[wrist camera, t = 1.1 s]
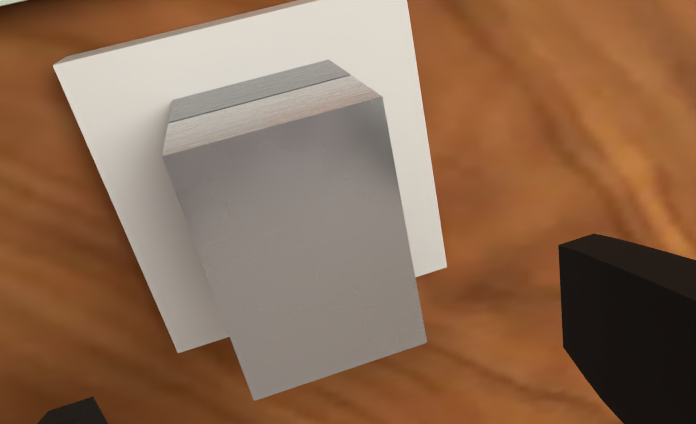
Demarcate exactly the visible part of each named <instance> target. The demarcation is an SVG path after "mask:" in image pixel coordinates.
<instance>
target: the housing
mask: <svg viewBox="0 0 696 424" xmlns="http://www.w3.org/2000/svg"><path fill="white" fill-rule="evenodd" d="M168 123H169V124H168V127H167V132H166V138H165V143H164V148H163V153H162V158H163V161H164V164H165V166H166V169H167V172H168V174H169V177H170V179H171V182H172V185H173V187H174V190H175V193H176V195H177V198H178V201H179V203H180V206H181V209H182V211H183V214H184V217H185V219H186V222H187V225H188V227H189V230H190V233H191V235H192V238H193V241H194V243H195V246H196V249H197V251H198V254H199V257H200V259H201V262H202V265H203V267H204V270H205V272H206V275H207V278H208V280H209V283H210V286H211V288H212V291H213V294H214V296H215V299H216V302H217V304H218V307H219V310H220V312H221V315H222V318H223V320H224V323H225V326H226V328H227V331H228V334H229V336H230V339H231V342H232V344H233V347H234V350H235V352H236V355H237V358H238V360H239V363H240V365H241V368H242V371H243V373H244V376H245V379H246V381H247V384H248V387H249V389H250V392H251V395H252V397H253V400H254V401H256V400H259V399H262V398H265V397H268V396H271V395H273V394H276V393H279V392H282V391H285V390H288V389H291V388H294V387H297V386H300V385H303V384H306V383H309V382H312V381H315V380H318V379H321V378H324V377H327V376H330V375H333V374H336V373H339V372H342V371H345V370H348V369H350V368H353V367H356V366H359V365H362V364H365V363H368V362H371V361H374V360H377V359H380V358H383V357H386V356H389V355H392V354H395V353H398V352H401V351H404V350H407V349H410V348H413V347H416V346H419V345H422V344H424V343H427V339H426V334H425V328H424V323H423V317H422V312H421V306H420V301H419V295H418V290H417V284H416V279H415V273H414V268H413V262H412V257H411V251H410V246H409V240H408V235H407V229H406V224H405V218H404V213H403V207H402V202H401V196H400V191H399V185H398V180H397V174H396V169H395V163H394V158H393V152H392V146H391V141H390V135H389V130H388V124H387V119H386V113H385V108H384V102H383V97H382V96H381V95H380V94H378V93H377V92H375V91H374V90H372V89H371V88H370V87H368V86H367V85H365V84H364V83H362V82H361V81H359V80H358V79H356V78H355V77H353V76H352V75H350V74H349V73H348V72H346V71H345V70H343V69H342V68H340V67H339V66H337V65H336V64H335V63H333V62H332V61H330V60H329V59H328V60H324V61H321V62H317V63H313V64H309V65H305V66H301V67H297V68H294V69H290V70H286V71H282V72H278V73H274V74H270V75H267V76H263V77H259V78H255V79H251V80H247V81H244V82H240V83H236V84H232V85H228V86H224V87H220V88H217V89H213V90H209V91H205V92H201V93H197V94H194V95H190V96H186V97H182V98H178V99H174V100H173V102H172V107H171V112H170V117H169V122H168Z"/></svg>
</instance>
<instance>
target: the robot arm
mask: <svg viewBox="0 0 696 424" xmlns="http://www.w3.org/2000/svg"><path fill="white" fill-rule="evenodd" d="M559 265H560V286H561V307H562V328H563V347H564V349H565V350H566V351H567V353H568V354H569V356H570V357H571V358H572V360H573V361H574V363H575V364H576V366H577V367H578V368H579V370H580V371H581V373H582V374H583V375H584V377H585V378H586V379H587V381H588V382H589V383H590V385H591V386H592V387H593V389H594V390H595V391H596V393H597V394H598V395H599V397H600V398H601V399H602V400H603V402H604V403H605V404H606V405H607V406H608V407H609V408H610V409H611V410H612V411H613V412H614V414H615V415H616V416H617V417H618V418H619V419H620V420H621V421H622V422H623V423H624V424H696V260H693V259H689V258H686V257H682V256H679V255H675V254H672V253H668V252H664V251H661V250H657V249H654V248H650V247H647V246H643V245H639V244H635V243H632V242H628V241H624V240H620V239H616V238H612V237H607V236H602V235H597V234H591V235H588V236H585V237H582V238H579V239H576V240H573V241H570V242H567V243H564V244H561V245H559ZM38 424H108V423H107V421H106V419H105V418H104V416H103V414H102V412H101V410H100V408H99V407H98V405H97V403H96V401H95V399H94V397H91V398H87V399H84V400H81V401H78V402H75V403H72V404H69V405H66V406H63V407H60V408H57V409H54V410H51V411H48V413H47V414H46V415H45V416H44V417H43V418H42V419H41V421H40V422H39V423H38Z"/></svg>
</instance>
